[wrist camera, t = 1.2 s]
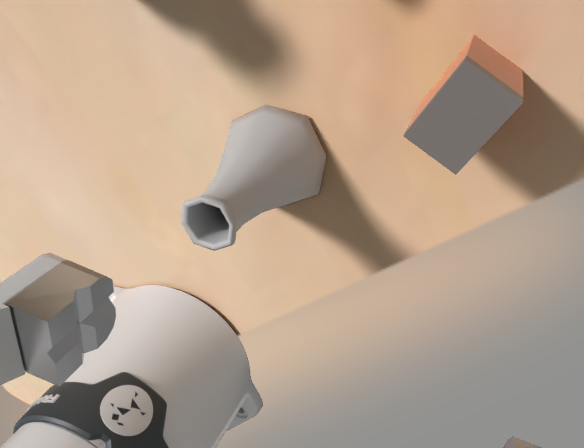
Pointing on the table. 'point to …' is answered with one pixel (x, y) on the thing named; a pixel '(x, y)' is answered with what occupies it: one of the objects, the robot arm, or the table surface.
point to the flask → (256, 174)
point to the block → (467, 105)
